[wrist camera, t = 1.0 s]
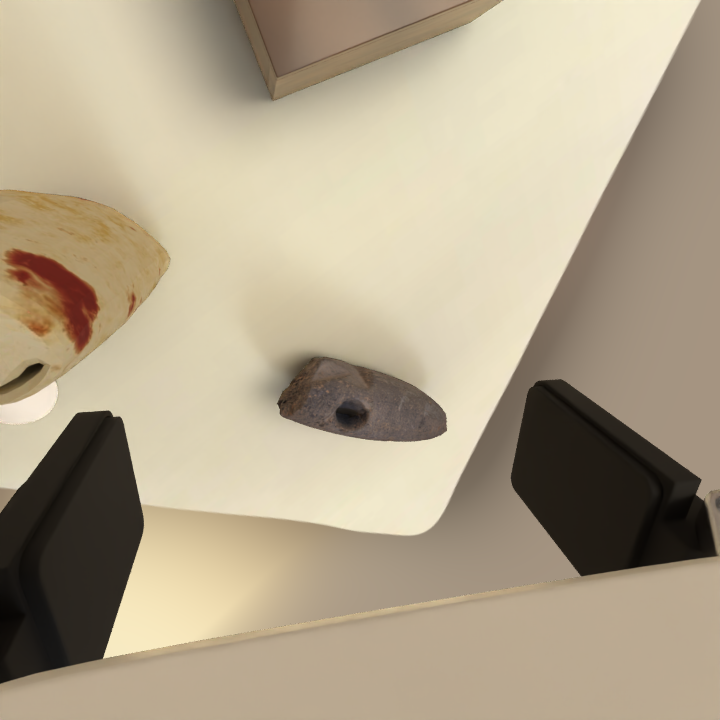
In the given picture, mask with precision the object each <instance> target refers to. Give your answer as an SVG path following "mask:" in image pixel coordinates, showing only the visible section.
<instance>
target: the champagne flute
mask: <svg viewBox="0 0 720 720" xmlns="http://www.w3.org/2000/svg"><path fill="white" fill-rule="evenodd" d="M57 398H58V388H57V383H56V380H55V381H54V382H53V383H51V384H50V385H48V386H47V387H45V388H44V389H42V390H41V391H39V392H38V393H36V394H34V395H32V396H30V397H27V398H25V399H23V400H21V401H18V402H15V403H10V404H5V405H0V423H5V424H26V423H31V422H34V421H37V420H39V419H41V418H43V417H44V416H46V415H47V414H48V413H49V412H50V411H51V410H52V409H53V407H54V406H55V404H56V401H57Z"/></svg>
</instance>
